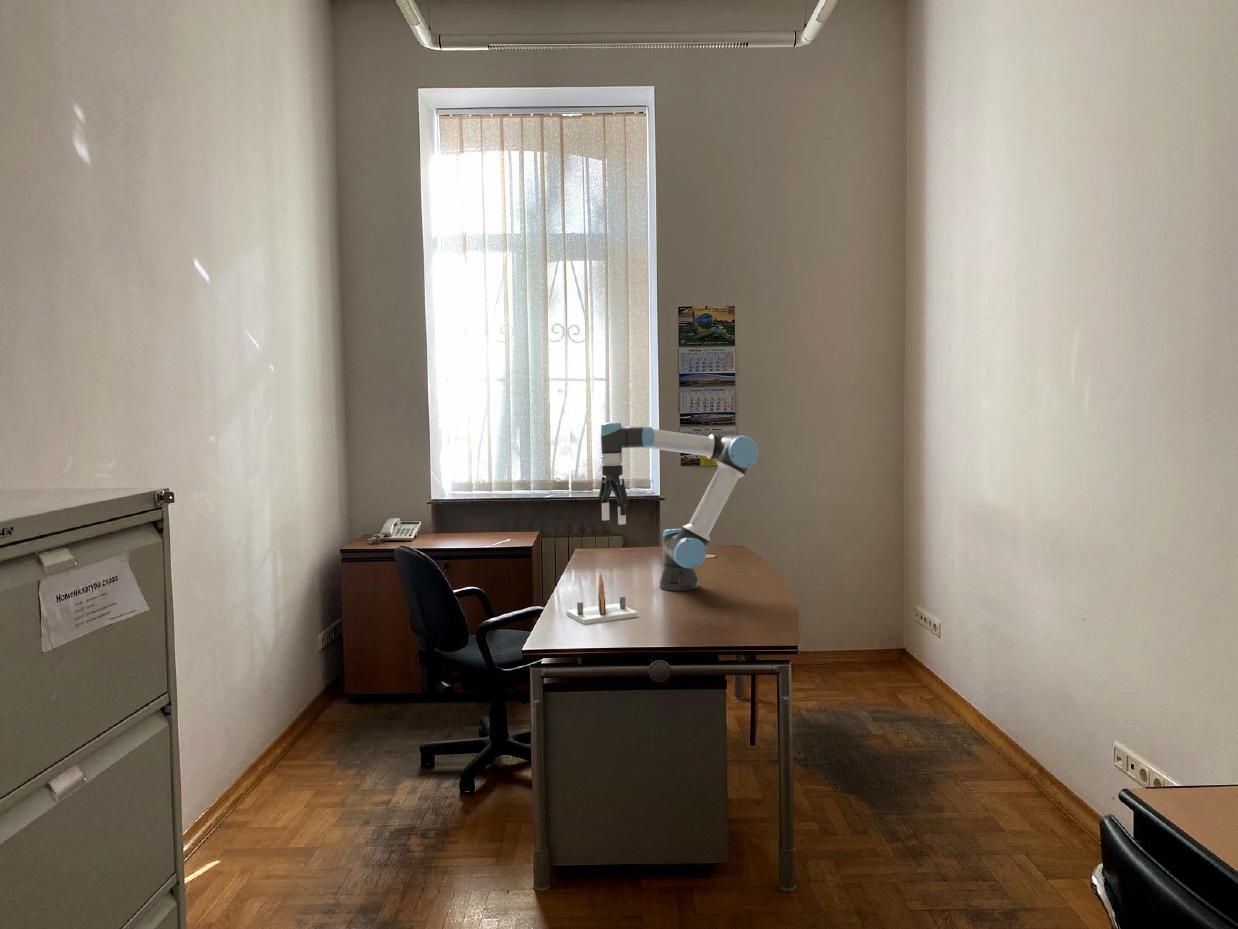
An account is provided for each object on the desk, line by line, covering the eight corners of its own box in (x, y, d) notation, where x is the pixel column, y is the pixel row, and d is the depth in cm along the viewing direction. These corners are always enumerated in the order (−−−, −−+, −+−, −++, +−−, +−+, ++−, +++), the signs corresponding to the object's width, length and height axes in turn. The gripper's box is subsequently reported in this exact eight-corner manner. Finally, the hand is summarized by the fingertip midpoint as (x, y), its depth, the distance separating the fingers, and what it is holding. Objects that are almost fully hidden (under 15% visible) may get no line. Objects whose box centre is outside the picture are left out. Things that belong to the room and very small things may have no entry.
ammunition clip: (605, 614, 288) (604, 579, 287) (600, 614, 288) (599, 579, 287) (603, 607, 299) (603, 573, 298) (598, 607, 299) (597, 573, 298)
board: (618, 607, 304) (618, 592, 304) (638, 616, 291) (637, 600, 291) (566, 614, 296) (566, 599, 295) (583, 624, 282) (583, 607, 282)
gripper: (588, 463, 324) (590, 519, 325) (618, 467, 302) (619, 527, 303) (606, 462, 327) (608, 517, 329) (637, 465, 305) (638, 525, 307)
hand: (613, 522), depth 316 cm, fingers open, 13 cm apart
